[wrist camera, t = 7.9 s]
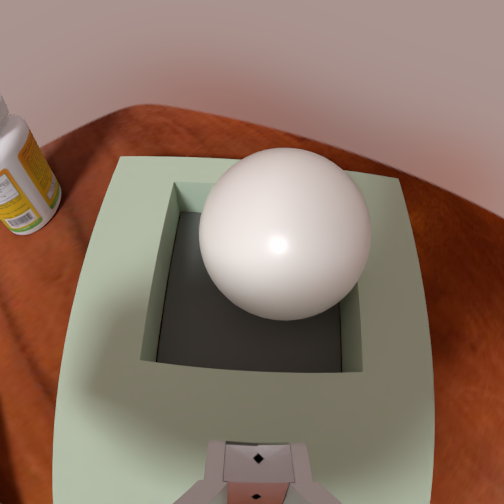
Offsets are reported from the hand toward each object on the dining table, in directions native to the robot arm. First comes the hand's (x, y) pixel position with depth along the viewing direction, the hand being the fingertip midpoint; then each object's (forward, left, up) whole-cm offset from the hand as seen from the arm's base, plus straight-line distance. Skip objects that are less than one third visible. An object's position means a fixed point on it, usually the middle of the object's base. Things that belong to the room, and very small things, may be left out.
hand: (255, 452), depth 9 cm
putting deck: (0, -3, -6) cm, 7 cm away
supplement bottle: (+17, -13, -7) cm, 23 cm away
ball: (-1, -9, -2) cm, 10 cm away
